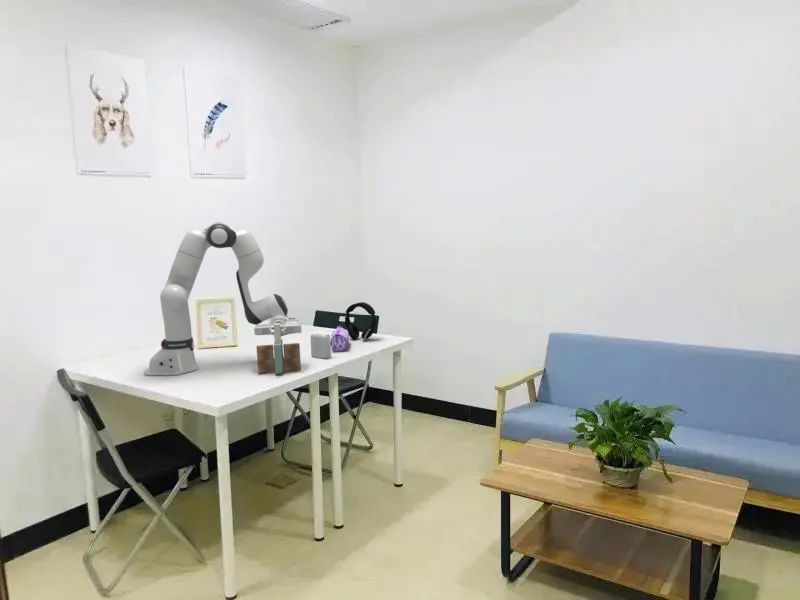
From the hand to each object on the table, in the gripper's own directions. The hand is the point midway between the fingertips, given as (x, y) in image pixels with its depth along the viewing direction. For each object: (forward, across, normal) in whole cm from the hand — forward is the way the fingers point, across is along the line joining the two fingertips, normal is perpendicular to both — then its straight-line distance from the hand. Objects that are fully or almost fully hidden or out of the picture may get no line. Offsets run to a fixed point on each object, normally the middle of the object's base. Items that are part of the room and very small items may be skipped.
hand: (277, 332), depth 263 cm
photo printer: (-24, +18, +18) cm, 35 cm away
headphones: (-57, +39, +18) cm, 71 cm away
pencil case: (-42, +28, +18) cm, 54 cm away
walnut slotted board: (-1, 0, +18) cm, 18 cm away
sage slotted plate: (-1, 0, +16) cm, 17 cm away
